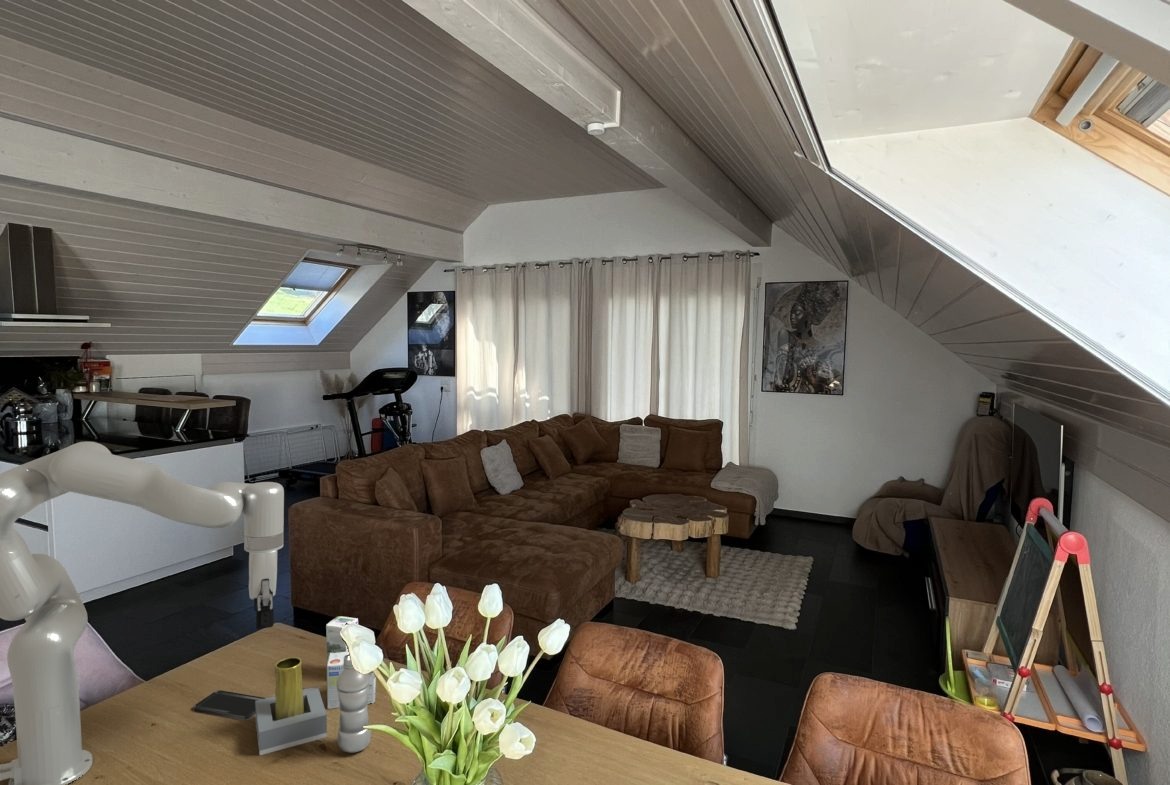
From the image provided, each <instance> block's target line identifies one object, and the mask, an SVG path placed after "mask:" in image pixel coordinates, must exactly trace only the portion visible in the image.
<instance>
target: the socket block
mask: <svg viewBox="0 0 1170 785" xmlns="http://www.w3.org/2000/svg"><path fill="white" fill-rule="evenodd" d="M264 698H265V699H261V700H257V701H255V713H256V714H255V726H256V727H255V728H256V734H257V745H258V751H259V756H263V755H268V754H270V753H273V752H278V751H281V750H284V749H288V748H291V747H295V746H299V745H303V744H307V743H310V742H314V741H317V740H321V739H325V738H327V737H328V729H327V728H328V727H327V726H328V722H327V720H328V719H327V718H328V717H327V716H328V715H327V712H326V708H325V704H324V702H323V699H322V696H321V692H320V689H319V685H317V686H312V687H308V688H304V689H303V704H304V714H301V715H297V716H293V717H289V718H285V719H281V720H277V721H275V703H276V695H274V696H270V697H264Z"/></svg>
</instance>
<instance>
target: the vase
mask: <svg viewBox="0 0 1170 785" xmlns="http://www.w3.org/2000/svg"><path fill="white" fill-rule="evenodd" d="M302 664H303V663H302V659H301V658H300V657H297V656H289V657H285V658H281V659H279V660H278V661H277V662H276V663H275V664H274V670H275V671H274V675H275V677H274V679H275V696H276V703H275V721H277V720H281V719H285V718H289V717H293V716H297V715H301V714H304V704H303V675H302V672H303V670H302Z"/></svg>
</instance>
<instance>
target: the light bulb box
mask: <svg viewBox="0 0 1170 785" xmlns="http://www.w3.org/2000/svg"><path fill="white" fill-rule="evenodd" d="M347 654H349V652H348V651H347V652H338V653H330V655H329V659H328V663H327V662H326V687H327V688H326V692H327V693H326V698H327V699H326V700H327V702H326V703H327V706H326V707H327V710H331V709H340V705H339V697H338V692H337V685H336V682H337V679H338V677H339V675H340V673H341V672H342V671H343V669H344V667H343V663H344V656H345V655H347ZM368 675H369V678H370V683H369V690H368V703H367V704H368V705H369V704H370V703H372V704H374V702H376V694H375V693H376V692H377V676H376V677H375V675H374V673H369V674H368ZM370 705H371V704H370Z"/></svg>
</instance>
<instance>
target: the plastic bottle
mask: <svg viewBox="0 0 1170 785" xmlns="http://www.w3.org/2000/svg"><path fill="white" fill-rule="evenodd" d="M343 667H344V669H343V671H342V672H341V673H340V675H339V677H338V679H337V682H336V685H337V692H338V697H339V705H340V708H339V727H338V731H337V739H336V740H337V744H338V747H339V748H340V749H341V751H342V752H344V753H346V754H349V753H350V754H352V753H358V752H361V751H363V750H364V749H365V748H367V746H368V745H369V744H370V742H371V737H372V730H368V729H364V728H363V726H366V725H370V720H369V712H368V711H369V710H368V705H369V704H367V703H368V690H369V683H370V678H369V675H368V674H361V673H359V672H357V671H356V670H355V669H354V667H353V665H352V662H351V658H350V654H347V655H345V656H344V663H343ZM370 726H371V725H370Z"/></svg>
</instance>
